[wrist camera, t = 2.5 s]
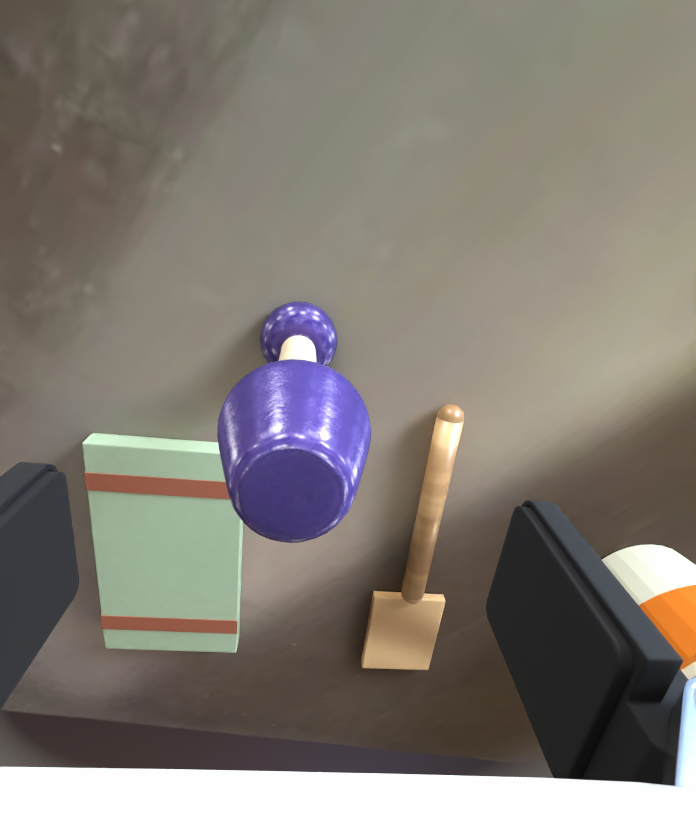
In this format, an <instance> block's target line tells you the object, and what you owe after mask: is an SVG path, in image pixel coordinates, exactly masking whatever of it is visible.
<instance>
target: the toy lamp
mask: <svg viewBox="0 0 696 832" xmlns="http://www.w3.org/2000/svg"><path fill="white" fill-rule="evenodd" d="M260 340H261V348H262V351H263V354H264V356H265V358H266V359H267V361H268V362H269V363H267V364H265V365H263V366H261V367H258V368H256V369H255V370H253V371H252V372H250V373H249V374H247V375H246V376H244V377H243V378H242V379H241V380H240V381H239V382H238V383H237V384H236V385H235V386H234V387H233V389H232V390H231V391H230V393H229V394H228V396H227V397H226V400H225V402H224V404H223V406H222V409H221V412H220V415H219V420H218V435H217V436H218V445H219V452H220V457H221V462H222V467H223V472H224V477H225V481H226V486H227V490H228V494H229V497H230V500H231V503H232V506H233V508H234V510H235V512H236V513H237V514H238V516H239V517H240V519H241V520H242V521H243V522H244V523H245V524H246V525H247V526H248V527H249V528H250V529H252V530H253V531H254V532H256V533H258V534H259V535H261V536H264V537H266V538H268V539H272V540H275V541H280V542H290V543H297V542H303V541H307V540H311V539H314V538H317V537H319V536H321V535H323V534H325V533H327V532H328V531H330V530H331V529H332V528H334V527H335V526H336V525H337V524H338V523H339V522H340V521H341V520H342V519H343V518H344V516H345V515H346V514H347V512H348V511H349V509H350V507H351V505H352V502H353V500H354V497H355V495H356V492H357V489H358V486H359V482H360V479H361V476H362V473H363V469H364V465H365V462H366V458H367V455H368V451H369V446H370V440H371V428H370V420H369V415H368V411H367V408H366V406H365V404H364V401H363V399H362V397H361V396H360V394H359V393H358V391H357V390H356V389H355V388H354V387H353V385H352V384H351V383H350V382H349V381H348V380H347V379H346V378H345V377H344V376H343V375H341V374H340V373H338V372H336V371H335V370H333V369H332V368H330V367H327V365H328V364H329V363H330V361H331V360H332V358H333V356H334V353H335V350H336V345H337V336H336V331H335V328H334V325H333V323H332V321H331V319H330V318H329V317H328V316H327V314H326V313H325V312H324V311H322V310H321V309H320V308H318V307H316V306H314V305H312V304H309V303H303V302H293V303H287V304H285V305H283V306H281V307H278V308H276V309H275V310H274V311H273V312H272V313H271V314H270V315H269V316H268V318H267V319H266V320H265V322H264V325H263V327H262V331H261V337H260Z"/></svg>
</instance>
